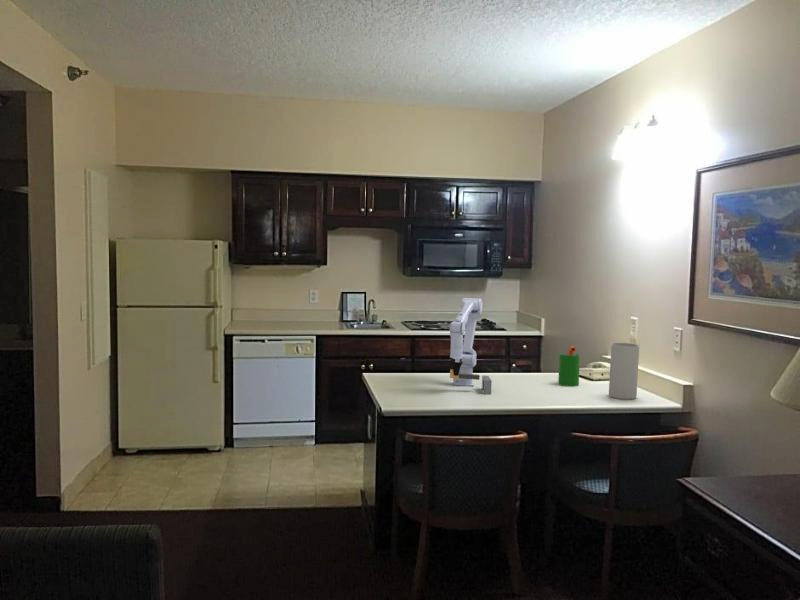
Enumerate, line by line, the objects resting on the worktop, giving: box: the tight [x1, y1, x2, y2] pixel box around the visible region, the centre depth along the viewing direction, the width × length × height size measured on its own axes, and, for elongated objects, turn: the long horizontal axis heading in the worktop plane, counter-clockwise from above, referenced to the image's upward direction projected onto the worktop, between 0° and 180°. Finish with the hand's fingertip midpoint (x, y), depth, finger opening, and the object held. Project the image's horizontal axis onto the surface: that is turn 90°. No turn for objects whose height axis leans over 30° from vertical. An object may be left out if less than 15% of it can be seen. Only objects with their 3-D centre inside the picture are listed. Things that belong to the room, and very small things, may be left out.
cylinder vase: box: [608, 342, 640, 400], centre depth 310 cm, size 12×12×25 cm
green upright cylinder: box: [557, 346, 581, 387], centre depth 336 cm, size 10×9×20 cm
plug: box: [449, 368, 481, 381], centre depth 315 cm, size 14×4×4 cm, turn 90°
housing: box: [481, 375, 493, 395], centre depth 316 cm, size 3×12×6 cm, turn 0°
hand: (455, 374), depth 315 cm, fingers closed on plug, 4 cm apart
